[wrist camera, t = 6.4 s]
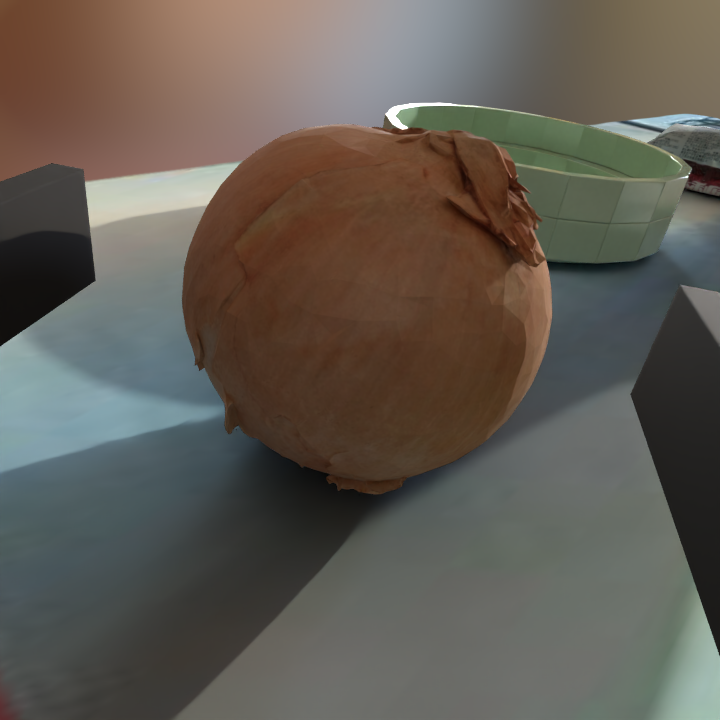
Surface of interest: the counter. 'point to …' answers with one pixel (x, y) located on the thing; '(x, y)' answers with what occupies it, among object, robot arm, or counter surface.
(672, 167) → the bowl
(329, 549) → the counter surface
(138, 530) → the counter surface
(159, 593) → the counter surface
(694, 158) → the packaged food
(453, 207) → the onion
